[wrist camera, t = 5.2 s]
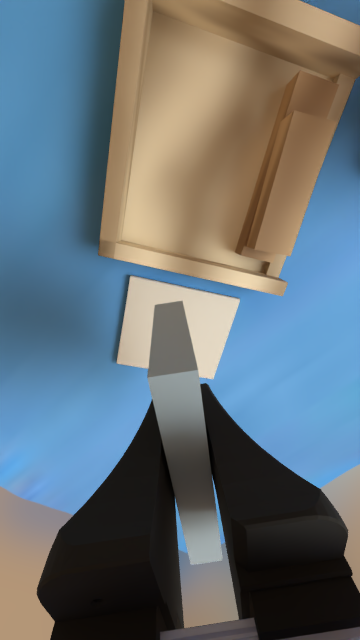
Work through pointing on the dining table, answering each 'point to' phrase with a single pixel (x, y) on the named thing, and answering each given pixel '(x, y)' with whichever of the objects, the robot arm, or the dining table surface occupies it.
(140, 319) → the mat
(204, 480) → the sheet
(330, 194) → the dining table surface
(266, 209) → the offcut upper
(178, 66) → the wooden tray
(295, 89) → the offcut lower
